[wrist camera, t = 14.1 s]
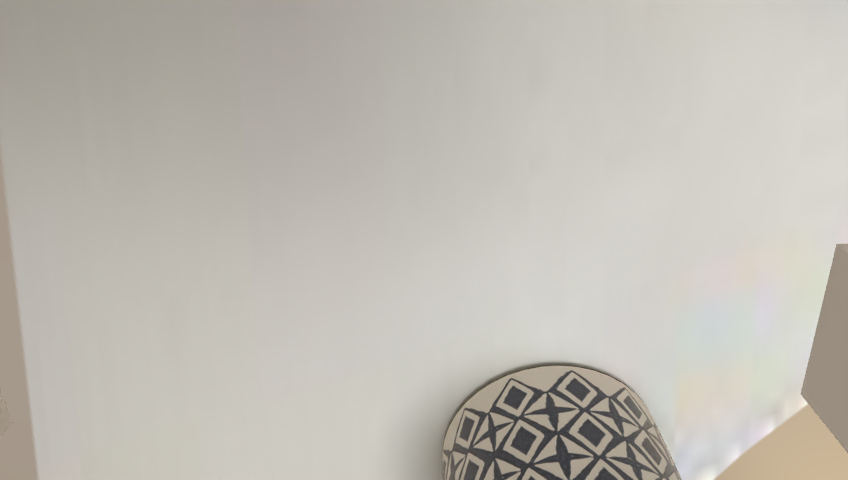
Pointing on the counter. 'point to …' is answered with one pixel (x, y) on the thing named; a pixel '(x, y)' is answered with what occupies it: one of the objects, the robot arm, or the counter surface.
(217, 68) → the counter surface
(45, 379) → the counter surface
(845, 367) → the robot arm
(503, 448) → the planter
